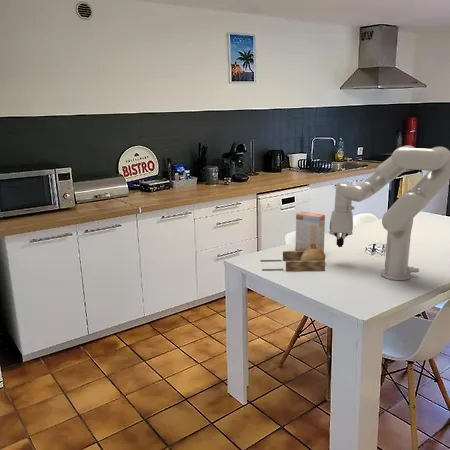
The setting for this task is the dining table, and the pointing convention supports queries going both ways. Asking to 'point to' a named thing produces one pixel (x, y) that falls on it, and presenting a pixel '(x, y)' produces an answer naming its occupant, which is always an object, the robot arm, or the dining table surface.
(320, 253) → the bread roll
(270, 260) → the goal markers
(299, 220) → the cracker box
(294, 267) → the channel
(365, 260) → the dining table surface
